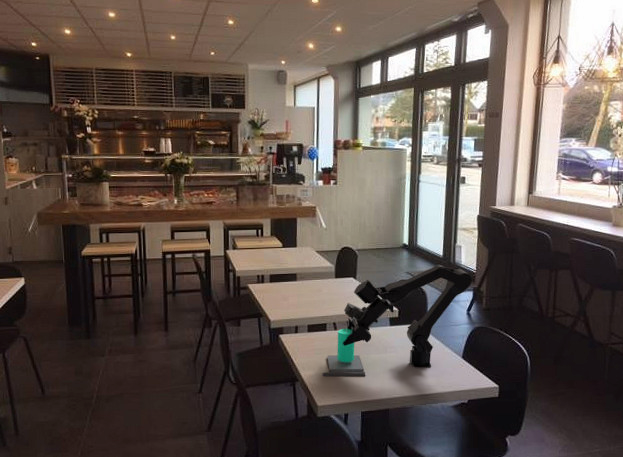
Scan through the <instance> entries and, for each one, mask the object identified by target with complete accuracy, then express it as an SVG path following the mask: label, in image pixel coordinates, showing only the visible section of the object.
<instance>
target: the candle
mask: <svg viewBox="0 0 623 457" xmlns="http://www.w3.org/2000/svg"><path fill="white" fill-rule="evenodd" d="M351 331H352V330H350V329H347V326H346V328H341V329H339V330H338V331H337V355H338V356H337V358H338V360H339V361H341V362H351V361H353V360H354V355H355V343H351V344H348V345H345V346H344V345H343V342H344V341H345V340H346V338H347V337H348V336H349V334H350V333H351Z"/></svg>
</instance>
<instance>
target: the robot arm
mask: <svg viewBox="0 0 623 457" xmlns="http://www.w3.org/2000/svg"><path fill="white" fill-rule="evenodd" d="M440 279H444V280H445V281H446V284H445V288H444V289H443V291H442V292H441V294H440V295H439V296H438V298H437V299H436V300H435V301H434V302H433V304H432V305H431V307H430V308H429V309H428V310H427V312H426V313H425V314H424V315H423V317H422V318H421V319H419V320H416V319H413V320H412V322H411V324H410V325H409V326H407V331H406V337H407V338H408V339H409V341H410V342H411V345H412V346H411V349H410V351H409V361H410V363H411V364H412V367H413V368H421V367H422V368H423V367H424V368H431V367H432V364H431V355H432V354H431V353H432V350H433V348H434V346H433V345H432V344H431V342H430V341H429V338H430V336H431V333H432V329H433V327H434V326H435V324H436V323H437V322H438V320H439V319H440V318H441V316H442V315H443V314H444V313H445V311H446V310H447V309H448V307H449V306H450V305H451V303H452V302H453V301H454V299H455V298H456V297H458V296H459V295H461V294H462V293H464V292H465V291H467V290H468V289H469V288H470V287H471V285H472V283H473V281H472V280H473V279H472V276H471V275H470V274H469V273H468V272H466V270H463V269H461V268H458V269H453V268H452V267H451V268H450V267H446V266H444V265H441V264H436V265H434V266H433V267H431V268H429V269H427V270H424V271H422V272H421V273H418V274H416V275H413V276H412V277H410V278H408V279H405V280H399V281H395V282H391V283H388V284H386V285H385V286H379V287H378V286H377V287H376V286H375V285H373V284H372V282H371V280H369V279H366V280H365V281H363V282H361V283H359V284H358V285H357V286H356V288H355V289H354V291H353V293H354V294H355V296H356V297H357V298H359V300H360V301H362V302H363V303H364V304H368V305H367V307H366V306H363V307H362V308H361V307H358V306H356V305H354V304H351V303H350V302H347V304H346V306H345V308H344V310H343V311H344V313H345V315H346V316H348V318H347V326H346V327H347V329H350V330H352V331H351V333H350V334H349V336H348V337H347V338H346V340H345V341H344V342H343V345H344V346H345V345H348V344H351V343H354V344H355V343H357V342H362V341H365V342H366V343H368V342H369V341H371V339H372V334H371V333H370V329H371V328H370V327H372V325H374V323H375V324H377V323H378V322H379V319H380V317H381V316H383V315H384V314H385V313H386V312H387V311H388V310H389V311H390V312H391V313H394V312H395V310H394V307H395V305H394V304H397V303H399V302H401V301H403V300H404V299H406V297H408V295H410V294H411V293H412V292H413V291H417V290H418V289H420V288H422V287H425V286H427V285H428V284H431V283H433V282H435V281H437V280H440ZM389 302H390V303H389Z"/></svg>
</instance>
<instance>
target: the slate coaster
mask: <svg viewBox="0 0 623 457" xmlns="http://www.w3.org/2000/svg"><path fill="white" fill-rule="evenodd" d="M337 356H338V354H337V355H336V354H335V355H331V354H330V355H328V354H327V356H326V357H327V362H328V363H327V365H328V369H329V372H365V369H364V365H363V363H362V359H361V357H360V354H359V355H358V354H357V355H356V354H354V360H353V361H351V362H341V361H339V360H338V358H337Z"/></svg>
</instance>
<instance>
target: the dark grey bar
mask: <svg viewBox="0 0 623 457" xmlns="http://www.w3.org/2000/svg"><path fill="white" fill-rule="evenodd" d="M322 376H323V377H366V372H365V371H364V372H330V371H328V372H327V371H326V372H325V371H324V372H322Z"/></svg>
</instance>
